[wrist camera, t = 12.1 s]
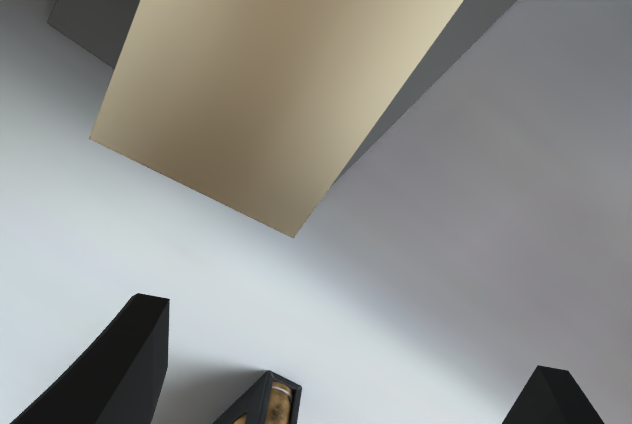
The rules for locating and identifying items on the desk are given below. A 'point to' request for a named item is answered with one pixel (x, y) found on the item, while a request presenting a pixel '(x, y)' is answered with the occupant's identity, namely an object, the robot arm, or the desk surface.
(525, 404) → the robot arm
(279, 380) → the ammunition clip
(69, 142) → the desk surface
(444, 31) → the rubber mat
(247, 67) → the maple block
